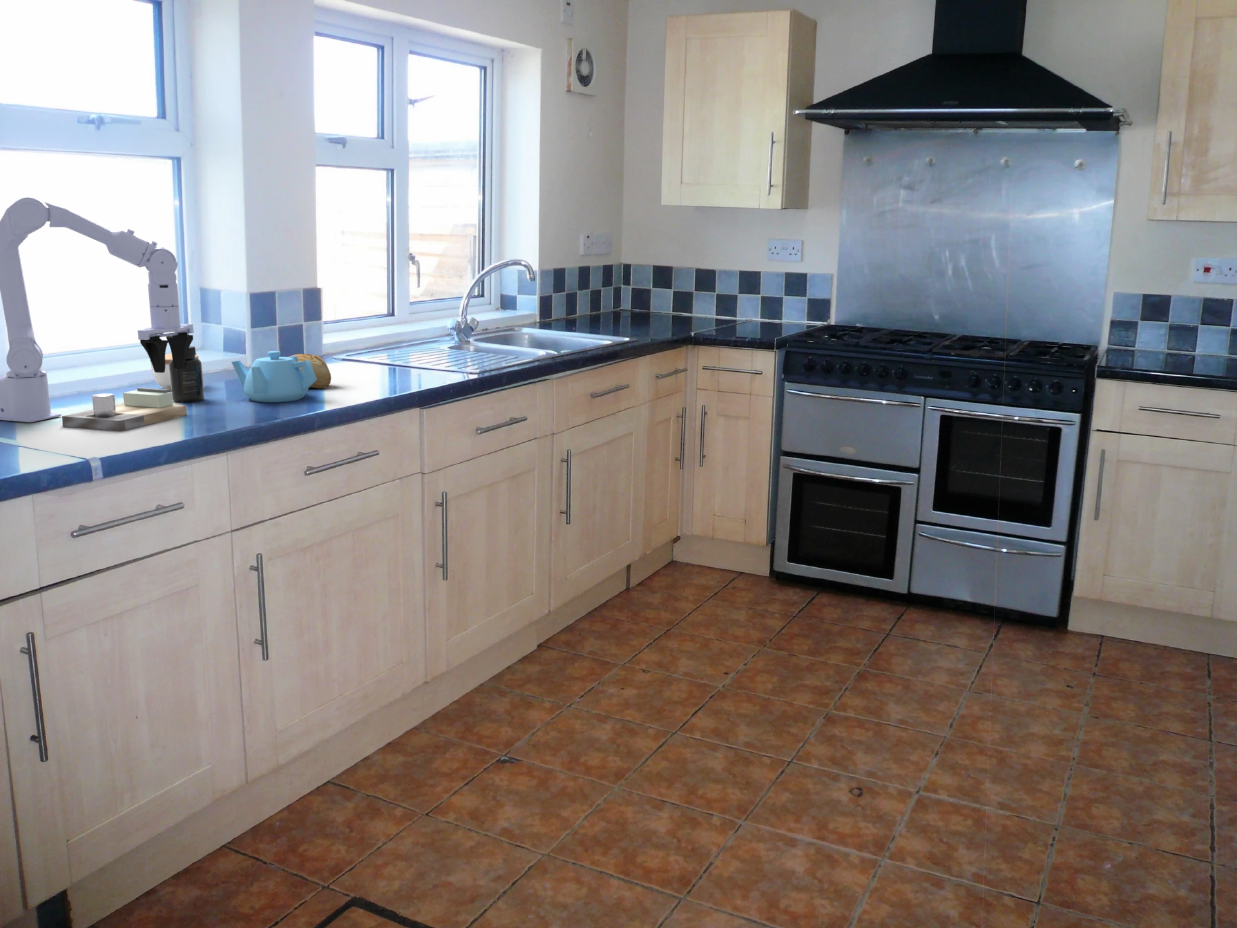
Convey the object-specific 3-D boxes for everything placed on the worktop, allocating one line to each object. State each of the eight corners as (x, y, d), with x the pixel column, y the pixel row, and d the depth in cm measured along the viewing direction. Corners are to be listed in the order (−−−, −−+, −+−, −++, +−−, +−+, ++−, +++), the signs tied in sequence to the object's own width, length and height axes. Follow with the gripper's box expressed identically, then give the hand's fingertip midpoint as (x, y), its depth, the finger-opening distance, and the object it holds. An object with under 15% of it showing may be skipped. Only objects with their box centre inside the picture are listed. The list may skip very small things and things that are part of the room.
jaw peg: (90, 426, 221) (87, 396, 219) (105, 422, 224) (103, 393, 223) (106, 427, 219) (103, 397, 218) (121, 424, 223) (118, 394, 222)
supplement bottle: (208, 398, 254) (204, 345, 252) (198, 403, 248) (194, 349, 245) (178, 398, 254) (174, 345, 252) (167, 403, 248) (162, 348, 245)
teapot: (251, 406, 245) (248, 357, 242) (232, 396, 257) (229, 349, 255) (320, 400, 253) (317, 352, 251) (298, 391, 265) (295, 345, 263)
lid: (124, 405, 232) (122, 389, 231) (138, 402, 236) (136, 387, 235) (159, 407, 229) (158, 392, 228) (173, 404, 233) (171, 389, 232)
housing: (62, 426, 220) (61, 416, 220) (132, 410, 238) (131, 401, 237) (120, 431, 216) (119, 420, 215) (187, 414, 233) (186, 405, 233)
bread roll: (287, 382, 279) (285, 350, 277) (340, 385, 275) (339, 353, 273) (265, 388, 270) (263, 355, 268) (320, 391, 266) (318, 358, 264)
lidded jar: (142, 390, 264) (139, 351, 262) (173, 384, 274) (169, 346, 272) (181, 393, 261) (177, 353, 259) (210, 386, 271) (207, 347, 269)
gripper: (155, 309, 227) (161, 376, 230) (203, 304, 240) (207, 367, 243) (127, 308, 229) (133, 374, 232) (176, 303, 242) (181, 365, 245)
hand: (169, 370), depth 237 cm, fingers open, 5 cm apart
